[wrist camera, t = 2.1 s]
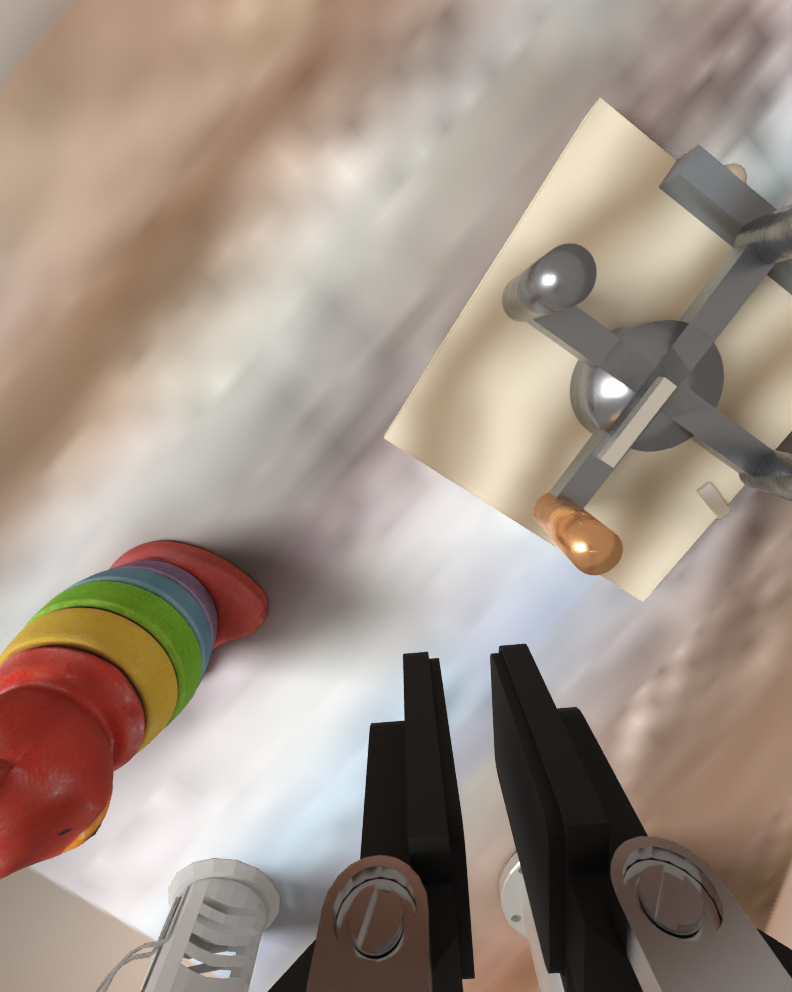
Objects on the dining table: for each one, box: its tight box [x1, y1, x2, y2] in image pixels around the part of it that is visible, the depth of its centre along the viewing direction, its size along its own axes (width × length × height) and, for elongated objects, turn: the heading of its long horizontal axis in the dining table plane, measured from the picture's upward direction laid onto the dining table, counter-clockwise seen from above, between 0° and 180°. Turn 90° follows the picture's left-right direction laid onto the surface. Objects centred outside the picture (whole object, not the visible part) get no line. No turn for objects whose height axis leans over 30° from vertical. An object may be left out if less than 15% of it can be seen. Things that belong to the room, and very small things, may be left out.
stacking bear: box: [0, 541, 268, 879], centre depth 24 cm, size 11×10×18 cm
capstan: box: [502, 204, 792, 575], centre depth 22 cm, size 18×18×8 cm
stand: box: [384, 98, 792, 602], centre depth 27 cm, size 20×21×4 cm
